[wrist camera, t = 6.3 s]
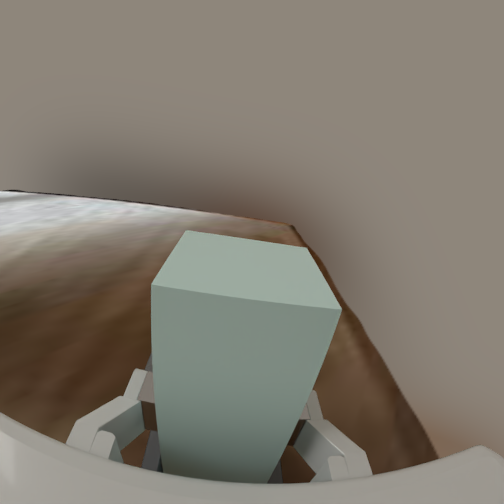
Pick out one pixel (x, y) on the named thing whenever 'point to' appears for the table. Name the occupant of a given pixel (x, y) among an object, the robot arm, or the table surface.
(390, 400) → the table surface
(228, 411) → the plug
